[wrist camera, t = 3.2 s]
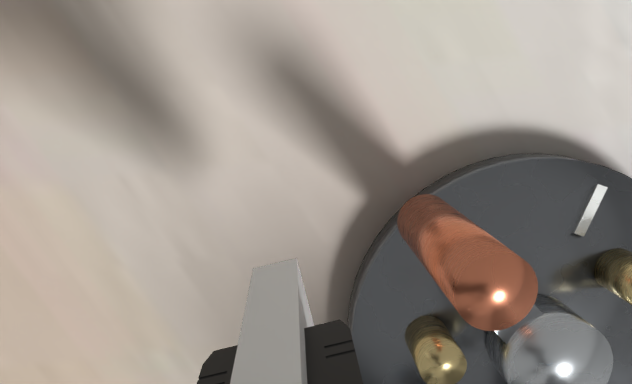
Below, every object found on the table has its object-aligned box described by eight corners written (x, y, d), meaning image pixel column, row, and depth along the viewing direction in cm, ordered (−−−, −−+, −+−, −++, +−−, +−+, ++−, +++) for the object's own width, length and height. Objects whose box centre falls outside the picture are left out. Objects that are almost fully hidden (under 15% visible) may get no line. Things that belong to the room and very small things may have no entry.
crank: (595, 338, 21) (738, 455, 15) (522, 396, 22) (627, 535, 15) (445, 166, 19) (533, 211, 12) (368, 235, 20) (411, 315, 13)
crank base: (485, 511, 26) (520, 587, 22) (276, 318, 22) (274, 367, 18) (735, 319, 24) (822, 365, 20) (549, 75, 20) (611, 72, 16)
